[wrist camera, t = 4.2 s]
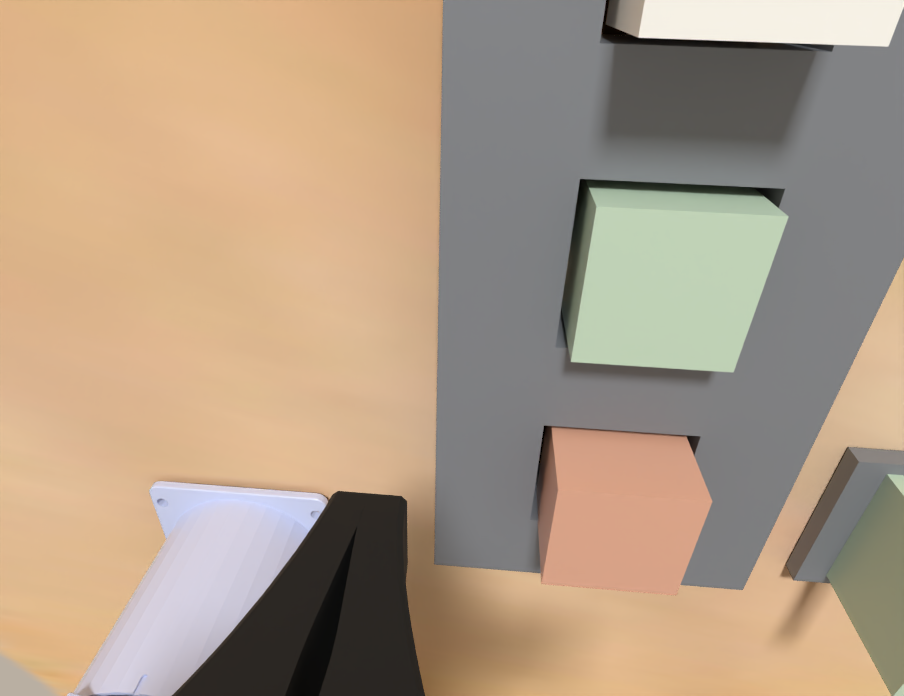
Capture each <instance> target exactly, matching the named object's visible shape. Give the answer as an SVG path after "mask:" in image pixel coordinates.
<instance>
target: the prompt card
mask: <svg viewBox="0 0 904 696" xmlns="http://www.w3.org/2000/svg"><path fill="white" fill-rule="evenodd" d="M786 566H787V568H788V570H789V572H790V574H791V576H792V578H793V580H797V581H809V582H821V583H831V585H832V587H833V589H834V590H835V592H836V594H837V596H838V598H839V600H840V602H841V603H842V605H843V607H844V609H845V611H846V613H847V614H848V616H849V618H850V620H851V622H852V624H853V625H854V627H855V629H856V631H857V633H858V635H859V637H860V638H861V640H862V642H863V644H864V646H865V648H866V649H867V651H868V653H869V655H870V657H871V659H872V661H873V662H874V664H875V666H876V668H877V670H878V672H879V673H880V675H881V677H882V679H883V681H884V683H885V684H886V686H887V688H888V690H889V692H890V694H891V696H904V451H896V450H882V449H867V448H853V447H848V448H847V450H846V452H845V454H844V456H843V458H842V460H841V462H840V464H839V465H838V467H837V469H836V471H835V473H834V475H833V477H832V479H831V481H830V482H829V484H828V486H827V488H826V490H825V492H824V494H823V496H822V498H821V499H820V501H819V503H818V505H817V507H816V509H815V511H814V513H813V515H812V516H811V518H810V520H809V522H808V524H807V526H806V528H805V530H804V532H803V533H802V535H801V537H800V539H799V541H798V543H797V545H796V547H795V549H794V550H793V552H792V554H791V556H790V558H789V560H788V562H787V564H786Z"/></svg>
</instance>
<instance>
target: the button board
mask: <svg viewBox="0 0 904 696" xmlns="http://www.w3.org/2000/svg"><path fill="white" fill-rule="evenodd" d="M605 4H606V0H443V47H442V111H441V175H440V239H439V303H438V367H437V431H436V494H435V558H434V564H436V565H448V566H460V567H472V568H484V569H496V570H508V571H520V572H532V573H541V568H540V552H539V536H538V506H537V483H538V477H539V470H540V463H539V456H540V449H541V442H542V436H543V429H544V425H545V426H559V427H574V428H588V429H602V430H616V431H630V432H645V433H659V434H673V435H686V437H687V439H688V442H689V444H690V447H691V449H692V452H693V454H694V457H695V459H696V462H697V464H698V467H699V469H700V472H701V474H702V477H703V479H704V482H705V484H706V487H707V489H708V492H709V494H710V497H711V499H712V504H711V507H710V509H709V512H708V514H707V517H706V520H705V522H704V525H703V527H702V530H701V533H700V535H699V538H698V540H697V543H696V545H695V548H694V551H693V553H692V556H691V558H690V561H689V564H688V566H687V569H686V571H685V574H684V577H683V579H682V582H681V584H680V585H688V586H700V587H712V588H724V589H736V590H743V588H744V586H745V584H746V582H747V580H748V578H749V576H750V574H751V572H752V570H753V568H754V566H755V564H756V561H757V559H758V557H759V555H760V553H761V551H762V549H763V547H764V545H765V543H766V541H767V539H768V537H769V535H770V533H771V530H772V528H773V526H774V524H775V522H776V520H777V518H778V516H779V514H780V512H781V510H782V508H783V506H784V504H785V502H786V500H787V497H788V495H789V493H790V491H791V489H792V487H793V485H794V483H795V481H796V479H797V477H798V475H799V473H800V471H801V469H802V466H803V464H804V462H805V460H806V458H807V456H808V454H809V452H810V450H811V448H812V446H813V444H814V442H815V440H816V438H817V436H818V433H819V431H820V429H821V427H822V425H823V423H824V421H825V419H826V417H827V415H828V413H829V411H830V409H831V407H832V405H833V402H834V400H835V398H836V396H837V394H838V392H839V390H840V388H841V386H842V384H843V382H844V380H845V378H846V376H847V374H848V372H849V369H850V367H851V365H852V363H853V361H854V359H855V357H856V355H857V353H858V351H859V349H860V347H861V345H862V343H863V341H864V338H865V336H866V334H867V332H868V330H869V328H870V326H871V324H872V322H873V320H874V318H875V316H876V314H877V312H878V310H879V308H880V305H881V303H882V301H883V299H884V297H885V295H886V293H887V291H888V289H889V287H890V285H891V283H892V281H893V279H894V277H895V274H896V272H897V270H898V268H899V266H900V264H901V262H902V260H903V258H904V7H903V10H902V13H901V15H900V18H899V20H898V23H897V26H896V28H895V31H894V33H893V36H892V39H891V41H890V44H889V46H888V47H884V46H856V45H828V44H800V43H773V42H745V41H717V40H689V39H661V38H638V37H635V36H633V35H614V34H601V32H602V25H603V18H604V11H605ZM580 179H594V180H614V181H635V182H656V183H676V184H697V185H718V186H738V187H754V188H755V189H756V190H757V191H758V192H760V193H761V194H762V195H763V196H764V197H766V198H767V199H768V200H769V201H771V202H772V203H773V204H774V205H775V206H777V207H778V208H779V209H780V210H781V211H783V212H784V213H785V214H786V215H788V216H789V217H788V220H787V223H786V225H785V228H784V231H783V234H782V237H781V240H780V242H779V245H778V248H777V251H776V254H775V257H774V259H773V262H772V265H771V268H770V271H769V274H768V276H767V279H766V282H765V285H764V288H763V291H762V293H761V296H760V299H759V302H758V305H757V307H756V310H755V313H754V316H753V319H752V322H751V324H750V327H749V330H748V333H747V336H746V339H745V341H744V344H743V347H742V350H741V353H740V356H739V358H738V361H737V364H736V367H735V370H734V372H718V371H703V370H687V369H672V368H656V367H641V366H625V365H610V364H594V363H579V362H571V360H570V355H569V349H568V343H567V337H566V332H565V326H564V320H563V314H562V309H561V305H562V299H563V292H564V285H565V278H566V271H567V264H568V258H569V251H570V244H571V237H572V230H573V223H574V217H575V210H576V203H577V196H578V189H579V182H580Z"/></svg>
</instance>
